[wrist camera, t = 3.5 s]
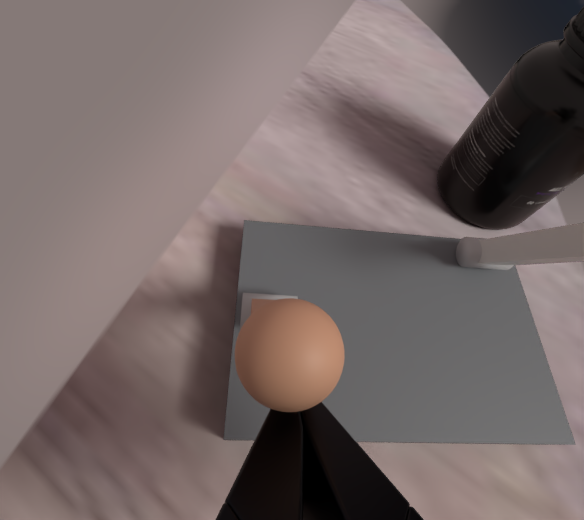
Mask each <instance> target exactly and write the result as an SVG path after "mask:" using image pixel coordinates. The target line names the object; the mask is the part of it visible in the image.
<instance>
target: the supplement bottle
mask: <svg viewBox="0 0 584 520" xmlns="http://www.w3.org/2000/svg"><path fill="white" fill-rule="evenodd" d="M563 33H564V39H563V40H556V41H550V42H546V43H543V44H540V45H538V46H536V47H534V48H532V49H530V50H529V51H527V52H526V53H524V54H523V55H522V56H521V57H520V58H519V59H518V60H517V62H516V63H515V64H514V65H513V67H512V68H511V69H510V71H509V72H508V73H507V75H506V76H505V77H504V79H503V80H502V81H501V83H500V84H499V86H498V87H497V88H496V90H495V91H494V92H493V94H492V95H491V97H490V98H489V99H488V101H487V102H486V103H485V105H484V106H483V107H482V109H481V110H480V112H479V113H478V114H477V116H476V117H475V118H474V120H473V121H472V123H471V124H470V125H469V127H468V128H467V129H466V131H465V132H464V134H463V135H462V136H461V138H460V139H459V140H458V142H457V143H456V144H455V146H454V147H453V149H452V150H451V151H450V153H449V154H448V156H447V157H446V158H445V160H444V161H443V163H442V165H441V166H440V168H439V171H438V177H437V181H438V187H439V191H440V193H441V195H442V197H443V199H444V201H445V202H446V203H447V205H448V206H449V207H450V208H451V209H452V210H453V211H454V212H455V213H456V214H457V215H459V216H460V217H462V218H463V219H465V220H466V221H468V222H470V223H472V224H474V225H477V226H480V227H483V228H488V229H507V228H511V227H514V226H516V225H518V224H520V223H521V222H523V221H524V220H526V219H527V218H528V217H529V216H531V215H532V214H534V213H535V212H536V211H537V210H539V209H540V208H541V207H543V206H544V205H545V204H546V203H548V202H549V201H550V200H551V199H553V198H554V197H555V196H557V195H558V194H559V193H560V192H562V191H563V190H564V189H565V188H567V187H568V186H569V185H570V184H572V183H573V182H574V181H576V180H577V179H578V178H579V177H581V176H582V175H583V174H584V7H583V8H582V9H581V11H580V12H579V13H578V15H576V16H574V17H573V18H572V19H571V20H570V21H569V23H568V24H567V25H566V27H565V28H564V32H563Z"/></svg>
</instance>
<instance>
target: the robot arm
mask: <svg viewBox="0 0 584 520" xmlns="http://www.w3.org/2000/svg"><path fill="white" fill-rule="evenodd" d="M409 506H410V504H409V502H408V501H407V500H406V499H405V498H404V497H403V495H402V494H401V493H400V492H399V491H398V490H397V488H396V487H395V486H394V485H393V484H392V483H391V482H390V480H389V479H388V478H387V477H386V476H385V475H384V473H383V472H382V471H381V470H380V469H379V468H378V466H377V465H376V464H375V463H374V462H373V461H372V460H371V458H370V457H369V456H368V455H367V454H366V453H365V451H364V450H363V449H362V448H361V447H360V446H359V444H358V443H357V442H356V441H355V440H354V439H353V438H352V436H351V435H350V434H349V433H348V432H347V431H346V429H345V428H344V427H343V426H342V425H341V424H340V422H339V421H338V420H337V419H336V418H335V417H334V416H333V414H332V413H331V412H330V411H329V410H328V409H327V407H326V406H325V405H324V404H323V403H322V402H320V403H319V404H317V405H316V406H313V407H311V408H309V409H306V410H303V411H298V412H281V411H277V410H273V409H270V411H269V413H268V415H267V417H266V419H265V421H264V423H263V425H262V427H261V429H260V431H259V433H258V435H257V437H256V439H255V441H254V443H253V445H252V447H251V449H250V451H249V453H248V455H247V457H246V459H245V461H244V463H243V466H242V468H241V470H240V472H239V474H238V476H237V478H236V480H235V482H234V484H233V486H232V488H231V490H230V492H229V494H228V496H227V498H226V500H225V503H224V504H223V506H222V508H221V510H220V512H219V514H218V516H217V518H216V520H424V519H423V518H422V517H421V516H420V515H419V514H418V513H417V511H416V510H415V509H414V508H413V507H409Z"/></svg>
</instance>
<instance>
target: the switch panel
mask: <svg viewBox="0 0 584 520" xmlns="http://www.w3.org/2000/svg"><path fill="white" fill-rule="evenodd" d="M460 240H461V239H455V238H443V237H432V236H420V235H409V234H397V233H386V232H374V231H363V230H351V229H339V228H328V227H316V226H305V225H293V224H282V223H270V222H259V221H247V220H244V228H243V239H242V249H241V260H240V270H239V281H238V292H237V302H236V313H235V323H234V334H233V345H232V355H231V366H230V376H229V387H228V398H227V408H226V419H225V429H224V440H255V439H256V437H257V435H258V433H259V431H260V429H261V427H262V425H263V423H264V421H265V419H266V417H267V415H268V413H269V411H270V408H268V407H265V406H264V405H262V404H260V403H259V402H257V401H256V400H255V399H254V398H253V397H252V396H251V395H250V394H249V393H248V392H247V390H246V389H245V388H244V386H243V385H242V383H241V381H240V379H239V376H238V374H237V370H236V365H235V345H236V341H237V337H238V334H239V332H240V330H241V329H240V322H241V308H242V297H243V293H256V294H272V295H288V296H297V297H298V299H301V300H305V301H308V302H310V303H313V304H315V305H316V306H318V307H320V308H321V309H322V310H324V311H325V312H326V313H327V314H328V315H329V316H330V317H331V318H332V320H333V321H334V322H335V324H336V326H337V327H338V329H339V331H340V334H341V337H342V340H343V344H344V356H345V358H344V366H343V370H342V374H341V376H340V379H339V381H338V383H337V385H336V387H335V388H334V389H333V391H332V392H331V393H330V394H329V395H328V396H327V397H326V398H325V399H324V400H323V401H322V403H323V404H324V405H325V406H326V407H327V409H328V410H329V411H330V412H331V413H332V414H333V416H334V417H335V418H336V419H337V420H338V421H339V422H340V424H341V425H342V426H343V427H344V428H345V429H346V431H347V432H348V433H349V434H350V435H351V436H352V438H353V439H354V440H355V441H356V442H403V443H475V444H575V441H574V438H573V435H572V432H571V429H570V426H569V423H568V420H567V417H566V414H565V412H564V409H563V406H562V403H561V400H560V397H559V394H558V391H557V388H556V385H555V382H554V379H553V376H552V373H551V370H550V367H549V364H548V361H547V358H546V355H545V352H544V349H543V346H542V343H541V341H540V338H539V335H538V332H537V329H536V326H535V323H534V320H533V317H532V314H531V311H530V308H529V305H528V302H527V299H526V296H525V293H524V290H523V287H522V284H521V281H520V278H519V275H518V273H517V270H516V267H515V265H514V266H513V267H512V268H511V269H509V270H497V269H484V268H471V267H462V266H460V265H459V264H458V262H457V259H456V249H457V245H458V243H459V242H460Z"/></svg>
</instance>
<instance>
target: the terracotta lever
mask: <svg viewBox="0 0 584 520" xmlns="http://www.w3.org/2000/svg"><path fill="white" fill-rule="evenodd" d="M240 329H241V330H240V332H239V334H238V337H237V341H236V345H235V365H236V370H237V374H238V376H239V379H240V381H241V383H242V385H243V386H244V388H245V389H246V390H247V392H248V393H249V394H250V395H251V396H252V397H253V398H254V399H255V400H256V401H257V402H259V403H260V404H262V405H264V406H265V407H268V408H270V409H273V410H277V411H281V412H298V411H303V410H306V409H309V408H311V407H313V406H316V405H317V404H319V403H320V402H322V401H323V400H324V399H325V398H326V397H327V396H328V395H329V394H330V393H331V392H332V391H333V389H334V388H335V387H336V385H337V383H338V381H339V379H340V376H341V374H342V370H343V366H344V358H345V356H344V344H343V340H342V337H341V334H340V331H339V329H338V327H337V326H336V324H335V322H334V321H333V320H332V318H331V317H330V316H329V315H328V314H327V313H326V312H325V311H324V310H322V309H321V308H320V307H318V306H316V305H315V304H313V303H310V302H308V301H305V300H301V299H298V297H297V296H288V295H272V294H256V293H243V297H242V308H241V322H240Z"/></svg>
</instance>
